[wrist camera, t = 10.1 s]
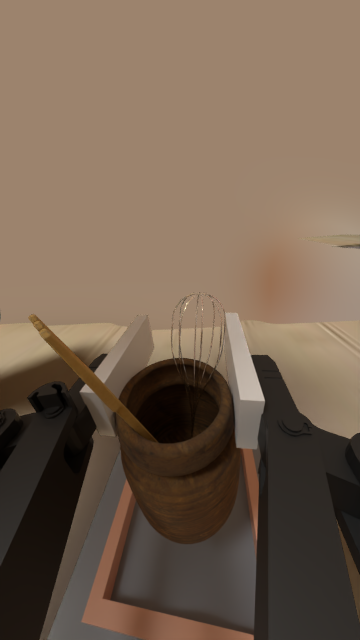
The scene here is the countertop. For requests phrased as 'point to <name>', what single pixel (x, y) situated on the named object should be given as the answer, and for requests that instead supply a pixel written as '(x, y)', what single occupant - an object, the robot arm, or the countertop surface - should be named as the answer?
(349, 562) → the countertop surface
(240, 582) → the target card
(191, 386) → the utensil holder
